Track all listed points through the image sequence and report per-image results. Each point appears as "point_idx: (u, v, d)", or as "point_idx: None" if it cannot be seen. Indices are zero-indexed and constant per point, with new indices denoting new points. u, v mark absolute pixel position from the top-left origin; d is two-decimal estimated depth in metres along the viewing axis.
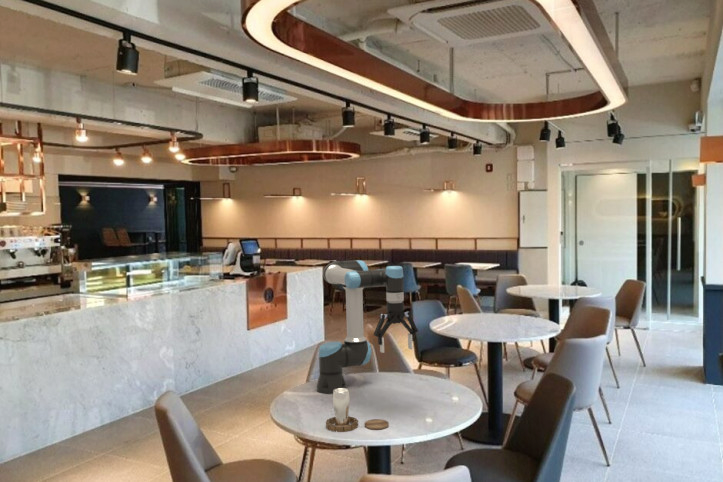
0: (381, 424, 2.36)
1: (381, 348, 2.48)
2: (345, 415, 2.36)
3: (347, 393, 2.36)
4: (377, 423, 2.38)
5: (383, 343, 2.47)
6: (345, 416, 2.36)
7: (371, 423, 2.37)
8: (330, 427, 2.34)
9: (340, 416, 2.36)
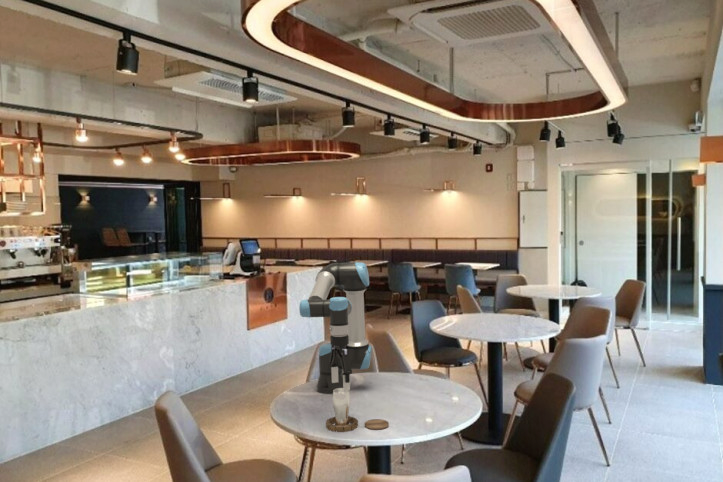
0: (381, 424, 2.36)
1: None
2: (345, 415, 2.36)
3: (347, 393, 2.36)
4: (377, 423, 2.38)
5: (332, 373, 2.43)
6: (345, 416, 2.36)
7: (371, 423, 2.37)
8: (330, 427, 2.34)
9: (340, 416, 2.36)
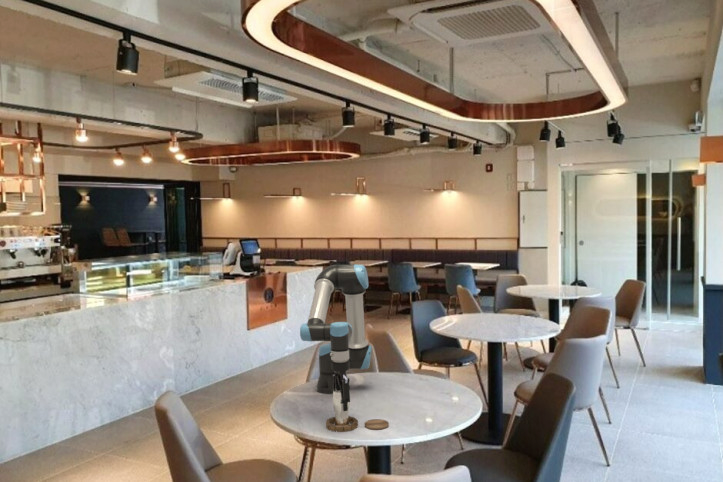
0: (381, 424, 2.36)
1: None
2: None
3: None
4: (377, 423, 2.38)
5: None
6: None
7: (371, 423, 2.37)
8: (330, 427, 2.34)
9: (340, 416, 2.36)
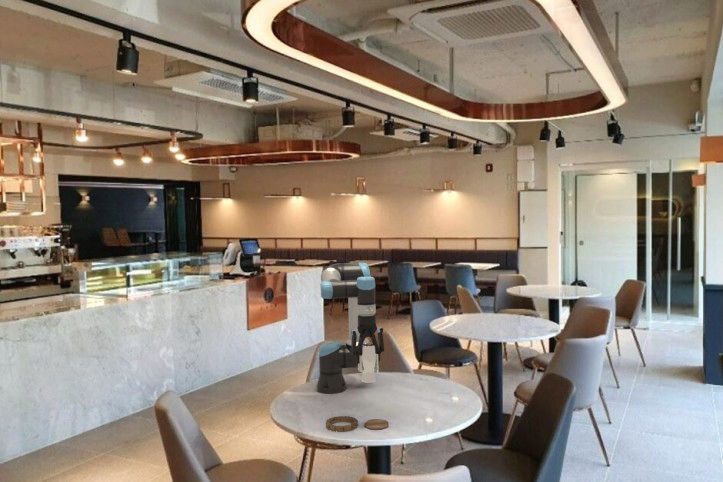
0: (381, 424, 2.36)
1: (359, 367, 2.35)
2: None
3: None
4: (377, 423, 2.38)
5: (361, 362, 2.34)
6: None
7: (371, 423, 2.37)
8: (330, 427, 2.34)
9: (374, 369, 2.37)
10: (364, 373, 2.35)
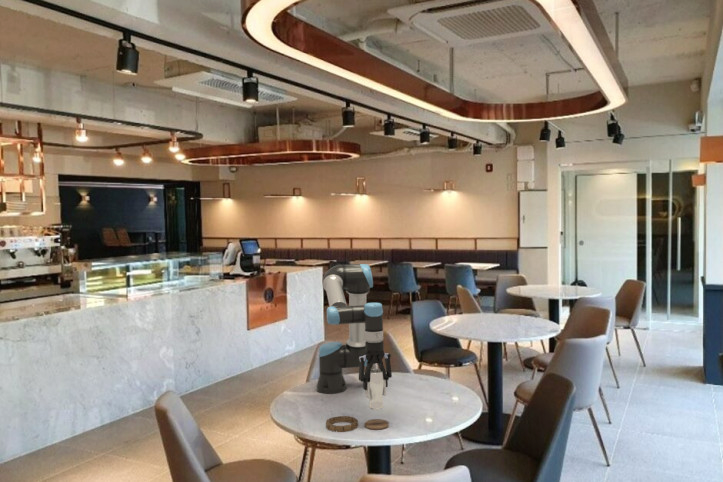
0: (381, 424, 2.36)
1: (366, 393, 2.36)
2: None
3: None
4: (377, 423, 2.38)
5: (369, 388, 2.35)
6: None
7: (371, 423, 2.37)
8: (330, 427, 2.34)
9: None
10: (372, 399, 2.35)
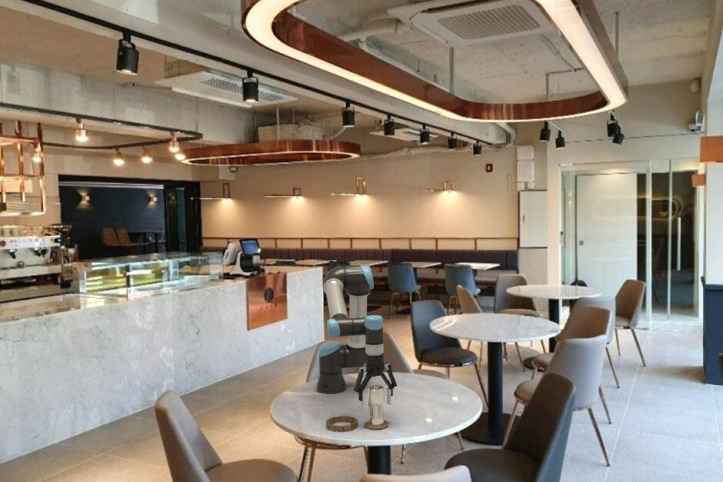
0: None
1: (362, 404, 2.35)
2: None
3: None
4: None
5: (364, 399, 2.34)
6: None
7: None
8: (330, 427, 2.34)
9: (382, 411, 2.37)
10: (372, 416, 2.36)
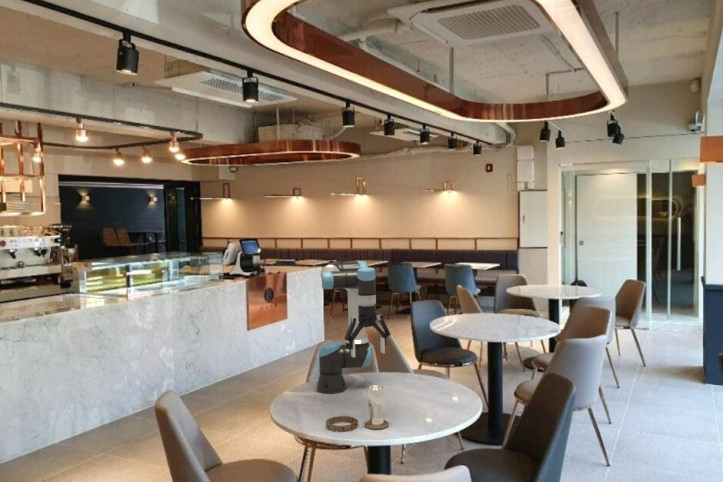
0: None
1: (352, 352, 2.40)
2: None
3: None
4: None
5: (354, 347, 2.39)
6: None
7: None
8: (330, 427, 2.34)
9: (382, 411, 2.37)
10: (372, 416, 2.36)
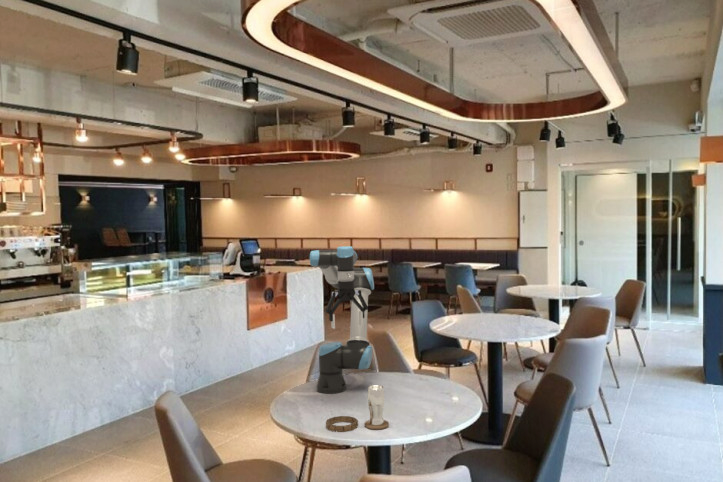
0: None
1: (332, 324, 2.59)
2: None
3: None
4: None
5: (334, 319, 2.58)
6: None
7: None
8: (330, 427, 2.34)
9: (382, 411, 2.37)
10: (372, 416, 2.36)
